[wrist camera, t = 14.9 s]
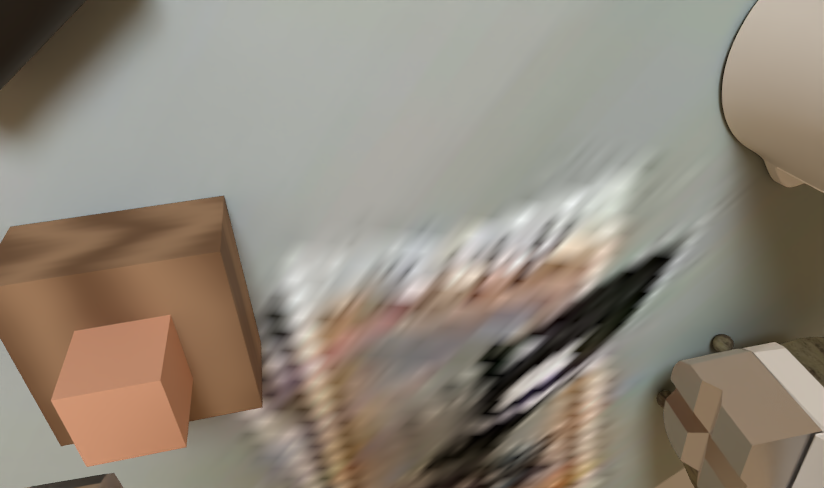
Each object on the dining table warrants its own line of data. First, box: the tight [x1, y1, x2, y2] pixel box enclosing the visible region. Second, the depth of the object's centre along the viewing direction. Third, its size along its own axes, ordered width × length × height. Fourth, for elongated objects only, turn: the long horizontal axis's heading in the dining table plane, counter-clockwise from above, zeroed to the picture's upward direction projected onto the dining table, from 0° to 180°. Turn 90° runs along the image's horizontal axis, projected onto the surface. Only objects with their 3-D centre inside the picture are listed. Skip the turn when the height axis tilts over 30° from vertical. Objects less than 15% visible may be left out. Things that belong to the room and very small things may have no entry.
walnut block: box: [0, 196, 262, 446], centre depth 38 cm, size 12×12×6 cm
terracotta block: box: [51, 315, 193, 467], centre depth 34 cm, size 5×5×5 cm
